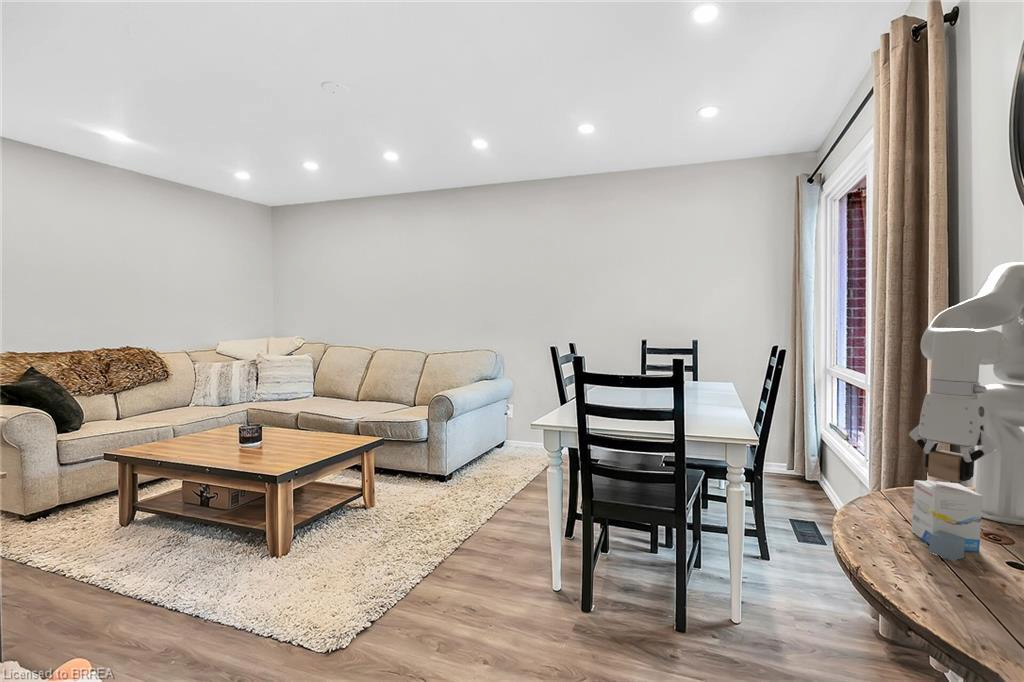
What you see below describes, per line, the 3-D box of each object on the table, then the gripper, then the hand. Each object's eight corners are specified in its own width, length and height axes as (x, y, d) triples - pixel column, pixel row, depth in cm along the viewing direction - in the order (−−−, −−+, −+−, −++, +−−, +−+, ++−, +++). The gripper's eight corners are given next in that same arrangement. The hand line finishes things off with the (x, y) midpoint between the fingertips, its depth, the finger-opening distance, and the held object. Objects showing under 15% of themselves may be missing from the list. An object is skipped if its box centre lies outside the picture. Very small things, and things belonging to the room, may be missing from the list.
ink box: (981, 552, 104) (984, 495, 103) (932, 547, 106) (935, 490, 105) (955, 535, 112) (958, 482, 112) (910, 531, 114) (913, 478, 114)
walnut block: (940, 473, 111) (941, 449, 111) (968, 479, 107) (970, 455, 107) (927, 475, 109) (929, 452, 109) (956, 482, 105) (958, 458, 104)
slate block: (939, 549, 105) (940, 530, 105) (963, 558, 101) (964, 537, 101) (928, 553, 103) (930, 533, 103) (953, 562, 100) (954, 541, 99)
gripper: (1015, 393, 102) (1010, 486, 102) (915, 383, 117) (911, 463, 117) (998, 395, 98) (992, 490, 99) (897, 384, 113) (892, 467, 114)
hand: (948, 475), depth 108 cm, fingers closed on walnut block, 4 cm apart
